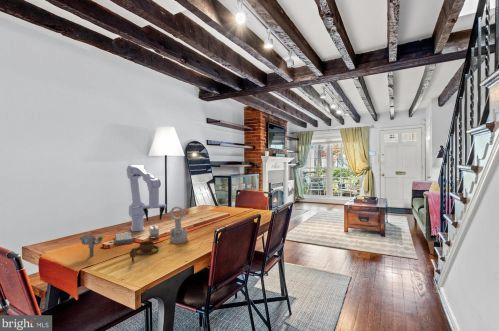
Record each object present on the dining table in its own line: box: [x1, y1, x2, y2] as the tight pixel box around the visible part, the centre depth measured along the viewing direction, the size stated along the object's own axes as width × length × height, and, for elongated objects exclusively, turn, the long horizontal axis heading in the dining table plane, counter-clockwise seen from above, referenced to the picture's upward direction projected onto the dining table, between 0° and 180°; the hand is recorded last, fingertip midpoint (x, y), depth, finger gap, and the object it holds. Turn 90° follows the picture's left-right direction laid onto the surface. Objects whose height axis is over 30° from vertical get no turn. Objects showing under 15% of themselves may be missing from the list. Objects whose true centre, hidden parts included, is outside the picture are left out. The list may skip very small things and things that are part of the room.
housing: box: [148, 224, 160, 239], centre depth 159 cm, size 8×4×7 cm, turn 28°
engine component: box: [169, 205, 188, 244], centre depth 153 cm, size 11×20×10 cm
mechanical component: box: [79, 234, 103, 258], centre depth 126 cm, size 3×10×10 cm, turn 89°
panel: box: [114, 231, 134, 246], centre depth 151 cm, size 14×9×2 cm, turn 28°
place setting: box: [129, 240, 160, 264], centre depth 131 cm, size 18×20×6 cm
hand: (153, 219), depth 158 cm, fingers open, 7 cm apart
